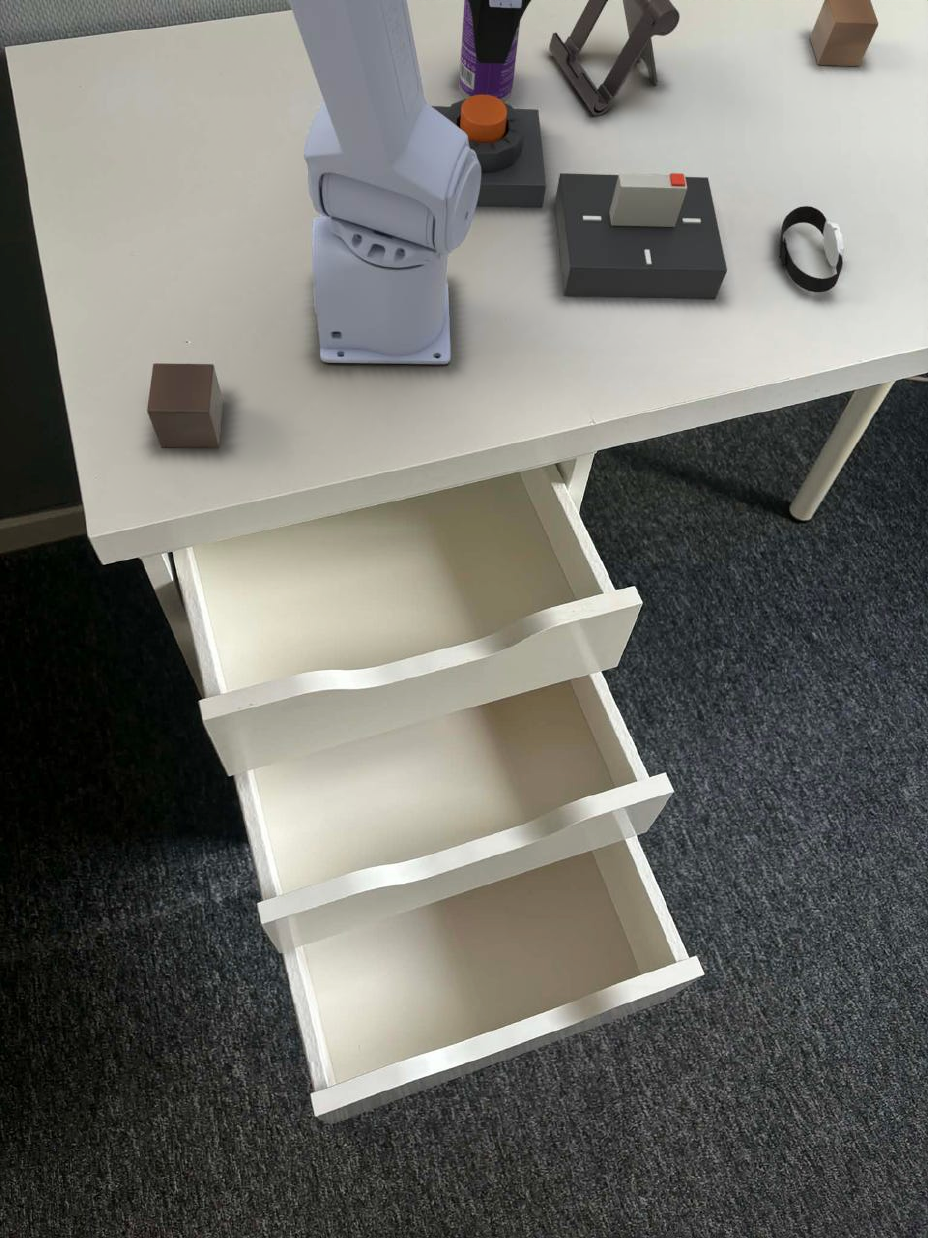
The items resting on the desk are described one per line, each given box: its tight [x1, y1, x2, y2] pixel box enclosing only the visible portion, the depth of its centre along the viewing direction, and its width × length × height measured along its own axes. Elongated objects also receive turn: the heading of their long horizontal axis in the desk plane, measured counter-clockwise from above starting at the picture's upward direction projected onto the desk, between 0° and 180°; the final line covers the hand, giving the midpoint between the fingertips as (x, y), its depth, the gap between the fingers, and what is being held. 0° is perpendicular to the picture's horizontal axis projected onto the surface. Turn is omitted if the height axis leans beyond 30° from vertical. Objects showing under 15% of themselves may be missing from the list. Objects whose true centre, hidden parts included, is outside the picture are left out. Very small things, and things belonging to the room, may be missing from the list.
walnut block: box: [146, 362, 224, 449], centre depth 64 cm, size 4×4×4 cm
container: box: [458, 0, 521, 103], centre depth 76 cm, size 5×5×15 cm
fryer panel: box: [554, 172, 728, 300], centre depth 74 cm, size 12×10×3 cm
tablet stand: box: [548, 0, 681, 117], centre depth 81 cm, size 9×8×8 cm
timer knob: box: [609, 172, 687, 227], centre depth 71 cm, size 5×1×4 cm, turn 92°
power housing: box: [431, 98, 547, 209], centre depth 77 cm, size 10×9×4 cm
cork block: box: [809, 0, 879, 67], centre depth 87 cm, size 4×4×4 cm
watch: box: [778, 205, 845, 293], centre depth 75 cm, size 8×5×4 cm, turn 8°
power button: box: [460, 95, 507, 143], centre depth 75 cm, size 4×4×2 cm
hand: (490, 45), depth 69 cm, fingers closed
